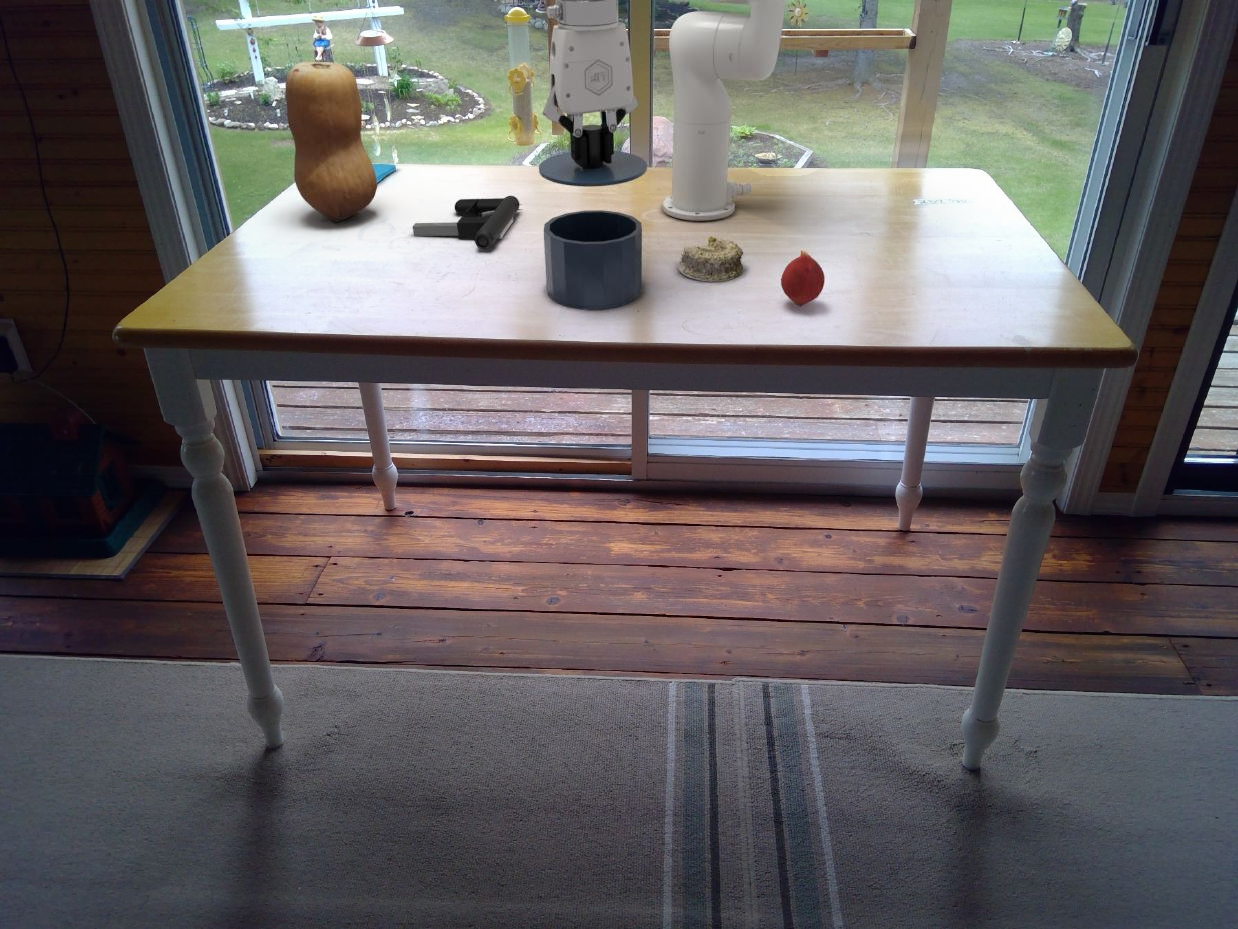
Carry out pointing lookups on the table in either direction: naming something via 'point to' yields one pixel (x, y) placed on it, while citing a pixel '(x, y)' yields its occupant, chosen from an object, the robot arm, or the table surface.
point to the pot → (593, 259)
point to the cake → (712, 261)
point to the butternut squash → (329, 139)
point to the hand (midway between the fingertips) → (592, 161)
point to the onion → (802, 279)
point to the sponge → (383, 170)
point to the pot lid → (593, 165)
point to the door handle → (475, 221)
